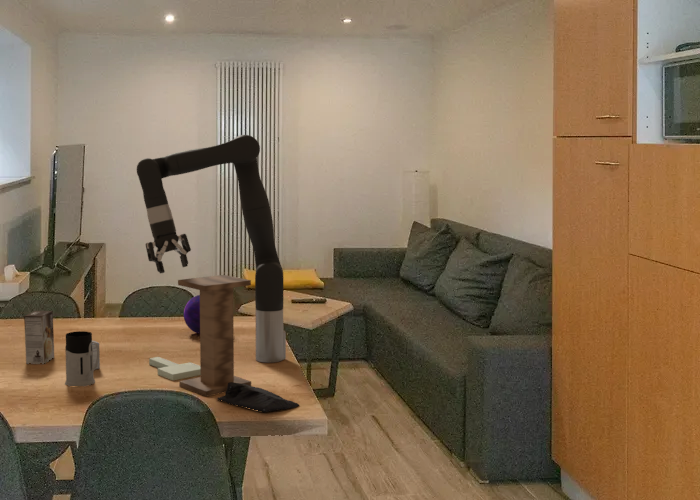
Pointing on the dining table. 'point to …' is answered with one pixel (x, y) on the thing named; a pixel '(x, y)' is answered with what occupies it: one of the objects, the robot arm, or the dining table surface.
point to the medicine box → (95, 355)
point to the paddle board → (174, 368)
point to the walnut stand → (215, 333)
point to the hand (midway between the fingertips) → (173, 269)
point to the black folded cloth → (255, 398)
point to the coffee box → (39, 337)
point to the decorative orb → (193, 314)
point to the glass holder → (80, 359)
